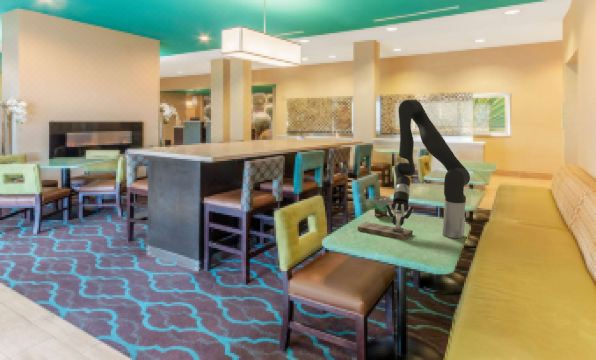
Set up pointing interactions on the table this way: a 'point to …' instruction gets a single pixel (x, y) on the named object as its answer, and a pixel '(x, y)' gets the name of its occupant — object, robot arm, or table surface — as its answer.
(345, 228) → the table surface
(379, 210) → the potted plant
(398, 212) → the fader
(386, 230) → the brown wooden board
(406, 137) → the robot arm
